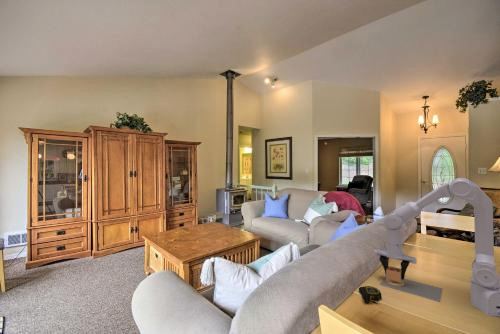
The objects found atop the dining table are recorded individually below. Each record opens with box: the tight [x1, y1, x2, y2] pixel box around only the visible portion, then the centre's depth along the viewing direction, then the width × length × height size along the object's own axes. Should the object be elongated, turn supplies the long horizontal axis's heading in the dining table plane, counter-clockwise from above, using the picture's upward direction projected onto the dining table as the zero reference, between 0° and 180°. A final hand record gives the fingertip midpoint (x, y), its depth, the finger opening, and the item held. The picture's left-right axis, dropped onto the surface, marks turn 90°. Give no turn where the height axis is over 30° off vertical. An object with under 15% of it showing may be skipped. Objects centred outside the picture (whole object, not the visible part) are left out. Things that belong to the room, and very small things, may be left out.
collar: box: [385, 265, 402, 282], centre depth 98 cm, size 5×5×4 cm
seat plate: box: [379, 275, 444, 303], centre depth 94 cm, size 19×12×2 cm, turn 48°
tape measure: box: [358, 285, 382, 304], centre depth 88 cm, size 7×7×4 cm
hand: (394, 276), depth 98 cm, fingers closed on collar, 5 cm apart
